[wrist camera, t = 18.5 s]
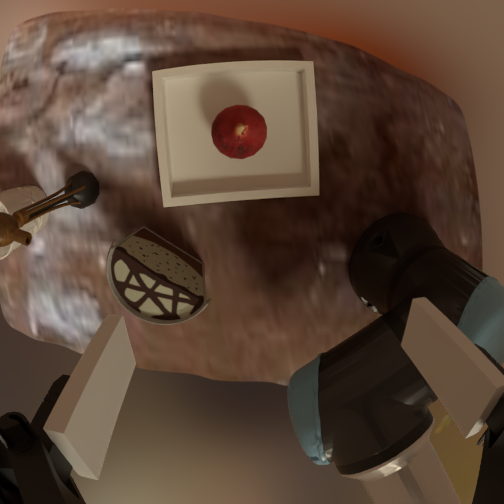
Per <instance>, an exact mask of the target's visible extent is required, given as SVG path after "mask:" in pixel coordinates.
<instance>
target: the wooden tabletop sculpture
mask: <svg viewBox="0 0 504 504" xmlns="http://www.w3.org/2000/svg"><path fill="white" fill-rule="evenodd" d="M62 191H64V192H65V194H63V195H61V196H59V197H56V198H54V199H52V200H49V199H51V198H53V197H55V196H56V195H58V194H60V193H61V192H62ZM98 195H99V182H98V181H97V179H96V178H95V177H94V175H93V174H92V173H88V172H85V171H81V172H79V173H77V174H75V175H73V176H71V177H70V178H69V180H68V182H67V184H66V186H65V187H63V188H62V189H60V190H59V191H57V192H56V193H54V194H52V195H50V196H48V197H46V198H44V199H42V200H40V201H38V202H36V203H33V204H31V205H29V206H27V207H24V208H22V209H20V210H18V211H15V212H14V213H13V215H10V214H7V213H4V212H0V247H4V246H7V245H9V244H12V243H13V241H15V242H18V243H21V244H23V245H26V246H28V245H29V244H30V242H31V240H32V234H31V233H30V232H27V231H24V230H21V229H19V228H21V227H23V225H25V224H27V223H29V222H31V221H32V220H34V219H36V218H38V217H40V216H42V215H44V214H46V213H48V212H50V211H53V210H55V209H58V208H61V207H63V206H67V205H71V206H73V207H77V208H80V209H83V208H85V207H87V206H90V205H92V204H94V203H95V201H96V199H97V197H98ZM47 200H49V201H47ZM66 200H67V201H68V203H63V204H60V203H62V202H64V201H66ZM45 201H47V202H45ZM43 202H45V203H43ZM41 203H43V204H41ZM39 204H40V205H39ZM57 204H60V205H57ZM37 205H38V206H37ZM55 205H57V206H55ZM35 206H36V207H35ZM53 206H54V207H53ZM33 207H34V208H33ZM31 208H32V209H31ZM28 209H29V210H28ZM26 210H27V211H26Z"/></svg>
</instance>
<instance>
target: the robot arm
mask: <svg viewBox="0 0 504 504" xmlns="http://www.w3.org/2000/svg"><path fill="white" fill-rule="evenodd" d="M350 281H351V285H352V287H353V290H354V291H355V293H356V295H357V296H358V297H359V299H360V300H361V301H362V302H363V303H364V304H365V305H366V306H367V307H368V308H369V309H371V310H373V311H375V312H377V313H379V314H382V316H380V317H379V318H377V319H376V320H374V321H373V322H372V323H370V324H369V325H367V326H366V327H364V328H363V329H361V330H360V331H358V332H357V333H355V334H354V335H352V336H351V337H349V338H348V339H346V340H344V341H343V342H341V343H340V344H338V345H337V346H335V347H333V348H332V349H330V350H329V351H327V352H325V353H324V352H323V353H320V354H319V355H318V356H317V358H315V359H314V360H312V361H311V362H309V363H308V364H306V365H305V366H303V367H302V368H300V369H299V370H297V371H296V372H295V373H294V374H293V375H292V377H291V379H290V381H289V385H288V406H289V412H290V416H291V420H292V424H293V427H294V430H295V433H296V435H297V438H298V440H299V442H300V444H301V446H302V448H303V450H304V451H305V453H306V454H307V455H308V456H309V457H311V460H312V461H313V462H314V463H316V464H318V465H322V464H325V465H327V464H330V463H331V462H334V464H335V465H336V467H337V469H338V470H339V473H340V474H341V475H342V476H344V477H348V478H355V479H359V480H361V482H362V484H363V485H364V487H365V489H366V491H367V492H368V494H369V495H370V497H371V499H372V501H373V503H374V504H461V501H460V499H459V497H458V495H457V493H456V491H455V489H454V487H453V485H452V483H451V481H450V479H449V477H448V475H447V473H446V471H445V469H444V467H443V465H442V463H441V461H440V459H439V457H438V455H437V454H436V452H435V450H434V448H433V446H432V444H431V442H430V440H429V436H430V433H431V431H432V428H433V425H434V418H433V416H432V414H431V413H430V411H429V409H428V406H429V405H430V404H431V403H433V402H434V401H436V400H437V399H439V400H440V401H441V403H442V404H443V406H444V407H445V409H446V410H447V412H448V413H449V415H450V416H451V418H452V419H453V421H454V422H455V424H456V425H457V427H458V428H459V430H460V431H461V433H462V435H463V436H464V437H465V439H466V438H468V437H470V436H472V435H474V434H476V433H478V432H479V431H480V429H481V428H482V426H483V425H484V423H485V422H486V424H487V425H488V428H487V430H486V431H485V432H484V434H483V435H482V437H481V438H480V439H479V441H478V443H477V445H480V443H481V442H482V441H483V439H484V443H483V445H482V446H483V453H482V459H481V465H480V470H479V476H478V481H477V485H476V490H475V494H474V498H473V502H472V504H504V369H503V367H502V366H501V365H502V364H503V362H504V287H503V286H502V285H501V284H500V283H499V282H498V281H497V279H495V278H494V277H491V276H489V275H487V274H486V273H484V272H483V271H481V270H480V269H478V268H477V267H475V266H473V265H472V264H470V263H469V262H467V261H466V260H464V259H462V258H461V257H459V256H458V255H456V254H454V253H453V252H451V251H449V250H448V249H446V248H445V246H444V245H443V243H442V242H441V240H440V239H439V238H438V236H437V234H436V232H435V231H434V230H433V228H432V227H431V226H430V225H429V224H427V223H426V222H425V221H423V220H421V219H419V218H417V217H415V216H413V215H410V214H404V213H399V214H392V215H389V216H386V217H384V218H382V219H380V220H378V221H377V222H375V223H374V224H373V225H372V226H370V227H369V228H368V229H367V230H366V232H365V233H364V234H363V235H362V237H361V238H360V239H359V241H358V243H357V245H356V247H355V249H354V251H353V254H352V257H351V262H350ZM135 365H136V362H135V358H134V355H133V351H132V348H131V344H130V340H129V337H128V333H127V329H126V325H125V321H124V317H123V315H109V314H107V316H106V318H105V319H104V321H103V322H102V324H101V326H100V327H99V329H98V330H97V332H96V334H95V335H94V337H93V339H92V340H91V342H90V344H89V345H88V347H87V349H86V350H85V352H84V354H83V355H82V357H81V359H80V360H79V362H78V364H77V366H76V367H75V369H74V371H73V373H72V374H71V376H69V375H62V376H61V377H59V378H58V379H57V380H56V381H55V382H54V383H53V384H52V386H51V388H50V390H49V391H48V394H47V395H46V397H45V398H44V402H42V404H41V405H40V407H39V409H38V411H37V413H36V414H35V416H34V418H33V420H32V422H31V424H30V423H29V421H28V420H27V418H26V417H25V416H24V415H23V414H21V413H19V412H9V413H6V414H5V415H3V416H1V417H0V504H86V503H85V501H84V499H83V498H82V496H81V494H80V492H79V490H78V488H77V486H76V484H75V482H74V480H73V478H72V477H71V476H70V473H71V470H72V467H73V469H74V470H75V471H76V472H77V473H78V475H79V476H83V477H87V478H91V479H96V480H98V479H99V476H100V472H101V469H102V465H103V462H104V458H105V455H106V452H107V449H108V445H109V442H110V439H111V435H112V432H113V429H114V426H115V423H116V420H117V417H118V414H119V411H120V408H121V405H122V402H123V399H124V396H125V393H126V390H127V387H128V385H129V382H130V379H131V376H132V373H133V371H134V368H135Z"/></svg>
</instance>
